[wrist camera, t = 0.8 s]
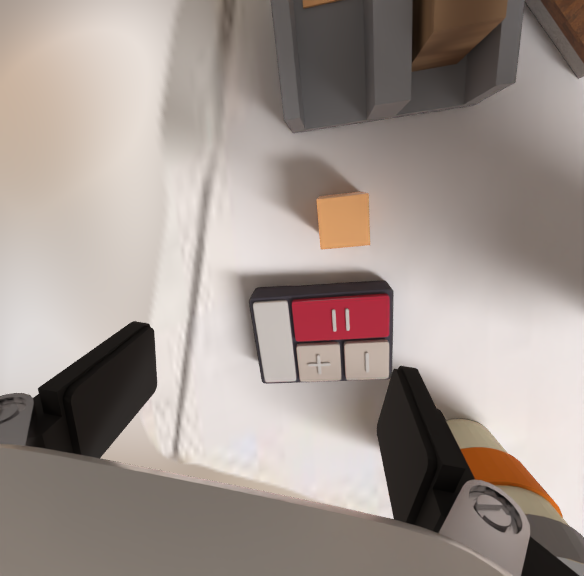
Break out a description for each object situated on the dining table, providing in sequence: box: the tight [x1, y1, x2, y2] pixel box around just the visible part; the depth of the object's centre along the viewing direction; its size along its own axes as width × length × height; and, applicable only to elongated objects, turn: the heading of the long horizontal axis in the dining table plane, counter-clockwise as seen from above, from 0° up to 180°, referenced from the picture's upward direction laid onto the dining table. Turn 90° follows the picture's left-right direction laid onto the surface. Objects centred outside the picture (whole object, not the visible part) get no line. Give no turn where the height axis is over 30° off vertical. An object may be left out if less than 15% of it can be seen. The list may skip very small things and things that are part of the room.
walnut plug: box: [412, 0, 508, 72], centre depth 20 cm, size 4×4×7 cm
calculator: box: [249, 281, 393, 383], centre depth 33 cm, size 11×4×15 cm
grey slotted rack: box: [271, 0, 525, 133], centre depth 22 cm, size 16×10×6 cm, turn 97°
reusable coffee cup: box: [446, 419, 584, 576], centre depth 30 cm, size 13×12×15 cm
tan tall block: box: [316, 191, 370, 249], centre depth 26 cm, size 4×4×7 cm
